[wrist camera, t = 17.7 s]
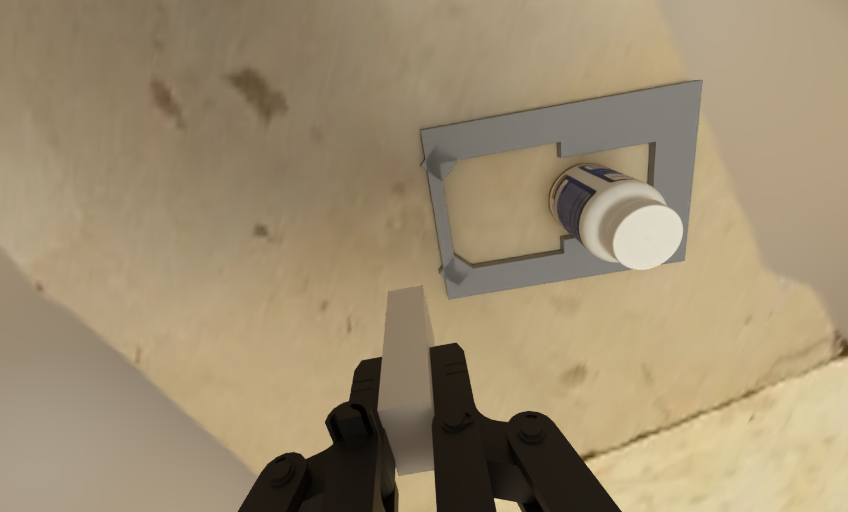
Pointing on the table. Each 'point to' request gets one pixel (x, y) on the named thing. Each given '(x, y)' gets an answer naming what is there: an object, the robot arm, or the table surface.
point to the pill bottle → (616, 216)
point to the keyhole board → (575, 135)
